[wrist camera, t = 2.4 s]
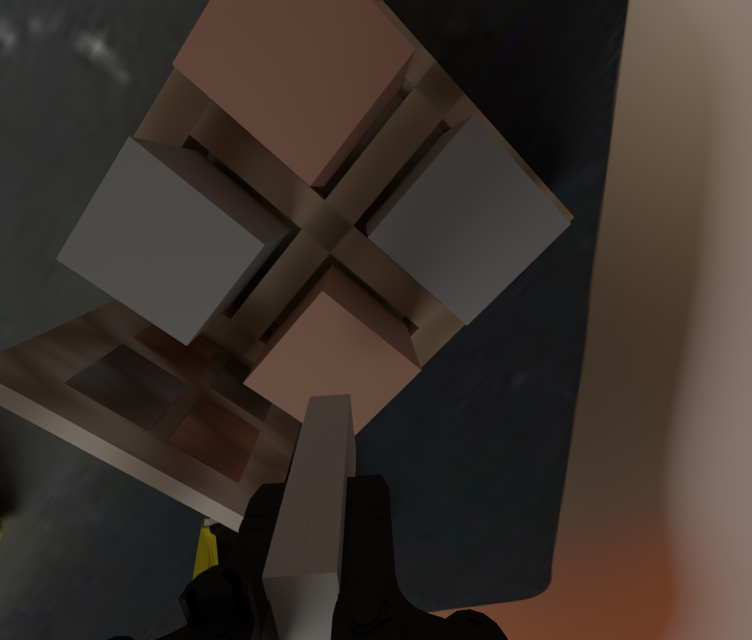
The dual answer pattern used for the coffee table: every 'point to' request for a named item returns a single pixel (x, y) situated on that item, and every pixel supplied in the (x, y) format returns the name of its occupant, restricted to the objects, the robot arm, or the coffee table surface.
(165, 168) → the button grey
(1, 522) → the bottle
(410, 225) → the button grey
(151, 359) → the button board
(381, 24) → the button terracotta front
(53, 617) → the coffee table surface
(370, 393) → the button terracotta back
